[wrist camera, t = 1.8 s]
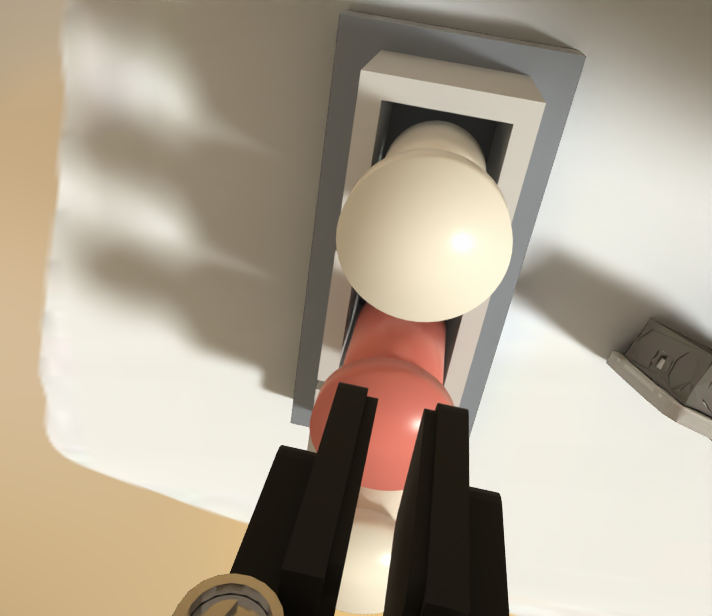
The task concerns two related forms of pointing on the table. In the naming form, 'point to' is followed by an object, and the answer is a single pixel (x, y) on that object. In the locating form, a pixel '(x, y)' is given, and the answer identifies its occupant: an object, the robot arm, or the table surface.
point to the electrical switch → (670, 375)
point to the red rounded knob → (389, 389)
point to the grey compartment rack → (379, 130)
